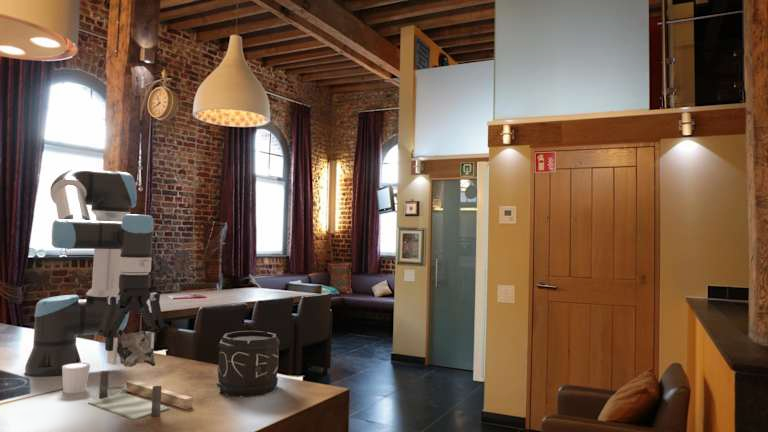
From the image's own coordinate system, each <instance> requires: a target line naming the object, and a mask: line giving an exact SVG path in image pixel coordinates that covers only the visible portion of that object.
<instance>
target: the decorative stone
mask: <svg viewBox="0 0 768 432" xmlns="http://www.w3.org/2000/svg"><path fill="white" fill-rule="evenodd" d="M116 335H117V337H116V338H118V341H117V342H118V344H117V355H118V356H119V360H120V361H119V362H120V364H121V365H123V366H124V367H127V368H128V367H129V368H132V367H134V366H136V365H137V364H149V365H150V366H152V367H154V366H156V362H155V355H154V350H153V348H152V349H151V350H150V351H148V347H149V344H148V339H147V337H146V336H145V335H146V332H145V331H144V330H141V331H139V332H129V333H125V332H124V330H121V329H119V331H118V332H117V333H116Z"/></svg>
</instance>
